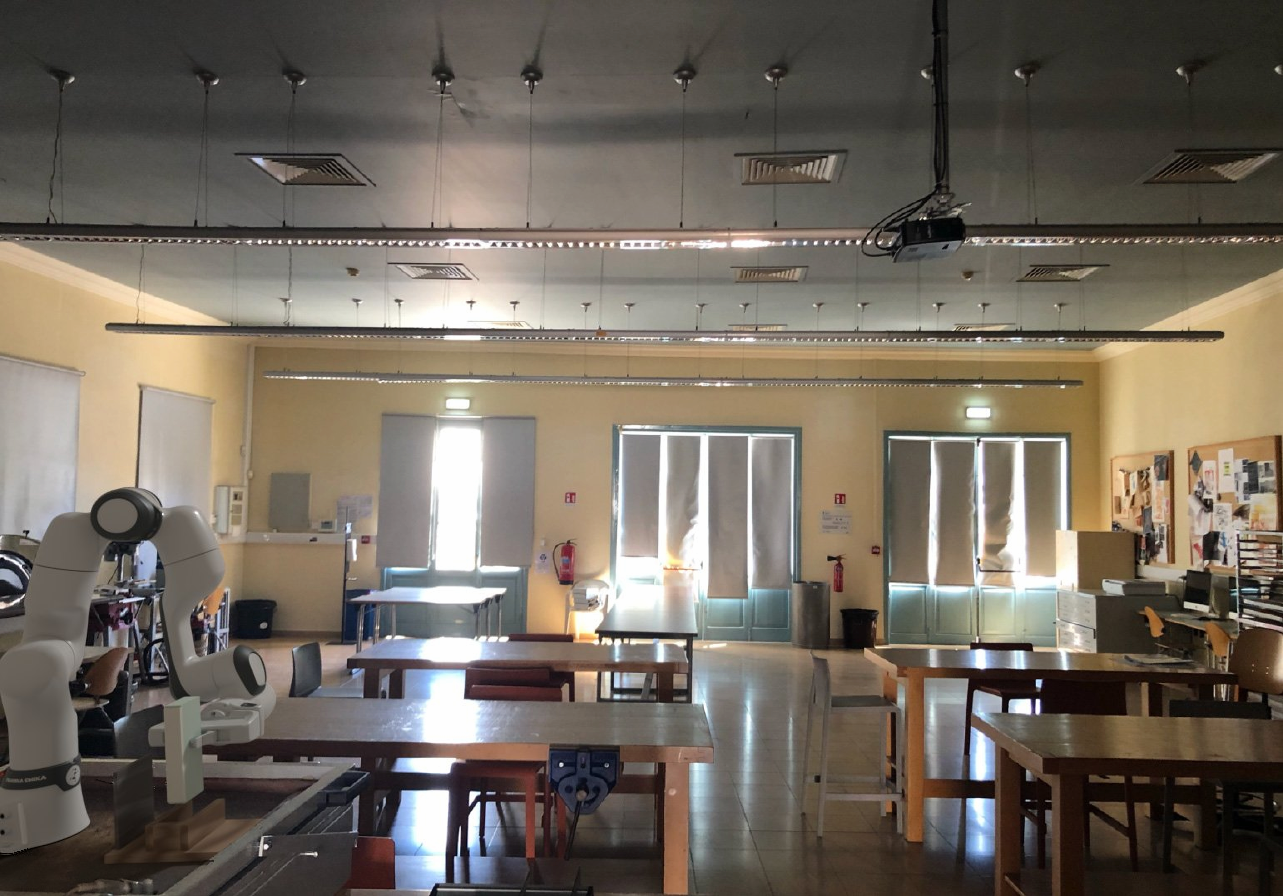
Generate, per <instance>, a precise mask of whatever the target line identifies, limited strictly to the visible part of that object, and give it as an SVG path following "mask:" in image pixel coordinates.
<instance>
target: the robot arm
mask: <svg viewBox="0 0 1283 896" xmlns="http://www.w3.org/2000/svg"><path fill="white" fill-rule="evenodd" d="M112 542H116V543H129V542H150V543H151V544H152V545H153V546H154V548H155V550H156V551H157V554H158V557H159V559H160V562H161V564H162V566H163V570H164V576H165V577H164V578H165V584H164V590H163V592H162V593H160V595H159V598H158V610H159V611H158V613H159V617H160V625H161V632H162V636H163V642H164V643H163V644H164V648H165V652H166V654H165V655H166V659H167V665H168V688H169V693H170V696H171V697H172V699H173V700H174V701H177V700H179V699H181V698H183V697H192V696H200V707H201V706H204V705H206V704H207V705H206V706H205V707H203V709H202V710H200V716H201V735H200V736H195V737H193V738H191V739H190V741H189V743H190V745H189V746H190V748H199V747H201V746H202V747H203V746H207V745H212V746H215V747H216V746H217V747H220V746H221V747H222V746H225V745H228V744H246V743H250V742H253V741H255V740H256V739H259V738H261V737H263V736H264V735H265V720H266V719H267V718H269V716H270V715H271V714H272V712H273V711H274V709H275V707H276V704H277V703H276V702H277V695H276V691H275V688H273V686H272V685H271V684H269V683H268V681H267V679H268V678H267V668H266V665H265V663H264V660H263V657H262V656H261V655H260V654H259V653H258V651H256V650H255V649H254V648H252V647H250V646H249V645H247V644H238V645H236V646H235V645H234V646H231V647H228V648H224V649H221V650H219V651H217V652H213V653H210V654H207V655H204V656H198V655H197V653H196V650H195V643H194V639H193V632H192V626H191V617H192V616H191V615H192V613H193V611H194V610H195V609H196V607H197V606H198V605H199V604H200V603H201V602H202V601H204V600H205V599H206V598H208V597H209V596H210V595H211V594H213V593H214V591H216V589H217V588H218V587H219V586H220V584H221V582H222V581H223V579H224V577H225V574H226V565H225V560H224V556H223V553H222V551H221V548H220V545H219V542H218V540H217V538H216V536H215V533H214V531H213V530H212V527H211V525H210V524H209V522H208V520H207V518H206V517H205V515H204V514H203V513H202V511H201V510H200V509H199V508H197V507H195V506H193V505H188V504H187V505H176V506H172V507H163V504H162V501H161V500H160V498H159V497H158V496H157V495H156V494H155V493H153V491H150V490H149V489H146V488H140V487H136V486H135V487H134V486H125V487H120V488H117V489H112V490H109V491H107V492H105V493H103V494H101V495H100V496H99V497H98V498H97V499H96V500H95V501H94V503H93V504H92V507H91V510H90V512H83V511H81V512H80V511H68V512H64V513H61V514H58V515H56V516H55V517H54V518H52V520H51V521H50V522H49V524H48V526H47V528H46V530H45V533H44V534H43V536H42V539H41V542H40V543H39V546H38V549H37V551H36V554H35V558H34V563H33V566H32V569H31V573H30V577H29V581H28V585H27V588H26V591H25V596H24V601H23V606H24V624H23V625H24V627H23V634H22V638H21V640H20V643H18V644H16V645H14V646H12V647H10V648H9V649H8V650H7V651H6V652H5V653H4V654H3V655H2V657H1V658H0V698H1V703H2V707H3V710H4V714H5V718H6V722H7V730H8V751H9V753H8V755H9V766H7V767H6V768H5V769H3V770H1V771H0V779H1V778H3V779H2V781H1V784H0V852H1V853H13V854H15V853H14V852H17V851H20V852H22V851H21V850H23V851H25V850H24V849H26V850H27V848H28V849H31V848H35V847H36V848H37V847H39V846H43V845H48V844H51V843H55V842H58V841H61V840H63V839H66V838H68V837H72V836H73V835H76V834H78V833H80V832H81V831H83V830H84V829H86V828H87V827H88V826H89V825H90V823H91V820H90V817H89V815H88V812H87V809H86V805H85V801H84V795H83V792H82V791H83V790H82V785H81V779H82V778H81V777H82V770H83V769H82V755H81V753H80V752H79V737H78V736H79V734H78V733H79V731H78V728H79V727H78V715H77V714H78V713H77V712H76V710H75V708H74V706H73V700H72V696H71V692H70V686H69V681H70V678H71V677H72V676H73V675H74V674H76V672H77V671H78V670H79V669H80V667H81V665H82V663H83V660H84V657H85V656H84V655H85V648H86V642H87V641H86V640H87V634H88V625H89V615H90V614H89V613H90V610H91V609H90V608H91V603H92V599H93V596H94V591H95V589H96V583H97V579H98V576H99V572H100V568H101V563H102V559H103V557H104V552H105V551H106V549H107V547H108V546H109V544H111V543H112ZM214 700H215V701H214ZM212 701H213V702H212ZM210 702H211V703H210ZM208 703H209V704H208ZM147 735H148V736H147V737H148V743H149V746H150V747H153V748H154V747H156V748H157V747H165V731H164V721H163V722H160V723H158V724H155V725H153V726H151V727H150V728H149V729H148V734H147ZM17 853H18V852H17Z"/></svg>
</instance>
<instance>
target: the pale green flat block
mask: <svg viewBox="0 0 1283 896" xmlns="http://www.w3.org/2000/svg"><path fill="white" fill-rule="evenodd" d="M200 713H201V706H200V696H192V697H183V698H181V699H179V700H177V701H176V700H174V701H173V702H171V703H169V704H166V705H164V708H163V722H164V731H165V746H164V750H165V751H164V752H165V753H164V754H165V766H166V770H165V775H166V776H165V777H166V783H167V784H166V797H167V800H166V801H167V803H168V805H170V804H171V805H173V804H174V805H175V804H176V805H178V804H179V803H186V802H187V801H189V800H193V798H195V797H196V796H198V795H199V794H200V793H202V792H203V791H204V790H205V789H204V769H203V766H204V765H203V745H202V746H201V747H199V748H190V746H189V745H190V743H189V741H190V739H191V738H193V737H195V736H200V735H201V716H200Z"/></svg>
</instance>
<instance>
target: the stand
mask: <svg viewBox="0 0 1283 896" xmlns="http://www.w3.org/2000/svg"><path fill="white" fill-rule="evenodd" d="M153 764H154V762H153V753H146V755H143V756H141V757H140V758H138V759H136V760H134V761H132V762H130V763H129V764H127V765H125V766H122V767H121V768H119V769H117V770H115V771H113V772H112V773H113V774H112V783H113V784H112V785H113V786H112V788H113V790H112V791H113V793H112V794H113V821H114V822H113V823H114V824H113V827H114V828H113V829H114V848H113V849H112V850H109V852H107V853H106V854H104V855H103V857H104V858H103V860H104V865H107V864H109V865H110V864H141V863H142V864H145V863H147V864H148V863H174V862H175V863H177V862H179V863H181V862H205V861H204V860H208V859H209V858H210V857H214V855H216V854H217V853H219V852H221V851H222V850H223V849H224V848H226V847H227V846H228V845H229V844H230V843H233V842H234V841H236V840H237V839H238V838H240V837H241V836H243V834H245V833H247V832H248V831H249V830H250V829H252V828H253V827H254V826H255V825H256V824H258V823H259V822H260V821H262V820H263V821H264V818H242V819H241V818H240V819H239V818H238V819H226V799H225V798H216V799H214V800H213V801H212V802H211V803H209V804H208V805H206V806H205V807H204V808H202V809H201V810H199V811H198V812H196V813H195V814H194V811H193V799H190V800H189V801H187V802H186V803H179V804H176V805H174V806H173V807H172V808H170V809H169V810H167V811H165V813H163V814H162V815H160V816H158V817H157V818H155V802H154V798H155V797H154V793H155V792H154V789H153V787H154V767H153Z"/></svg>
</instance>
